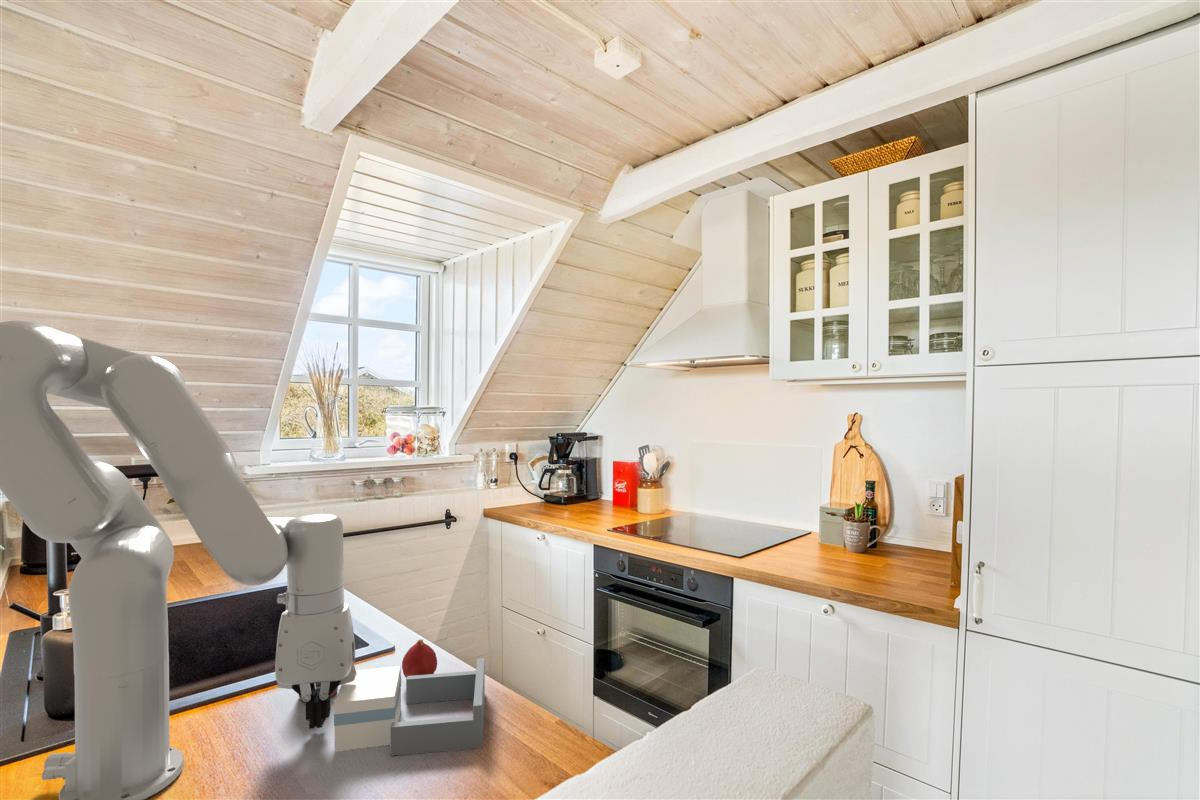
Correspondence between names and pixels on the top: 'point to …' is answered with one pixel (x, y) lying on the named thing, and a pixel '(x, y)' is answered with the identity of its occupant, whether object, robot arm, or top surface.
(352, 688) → the carton
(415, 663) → the onion
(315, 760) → the top surface
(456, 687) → the bay
